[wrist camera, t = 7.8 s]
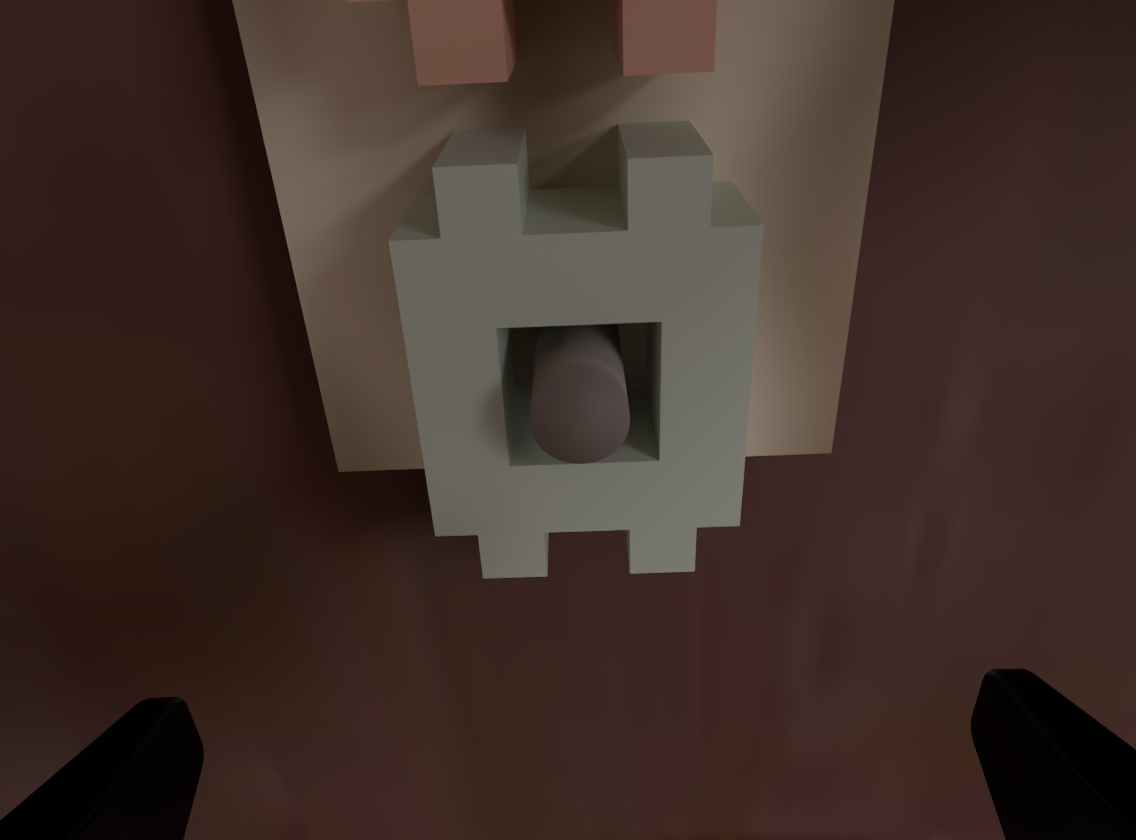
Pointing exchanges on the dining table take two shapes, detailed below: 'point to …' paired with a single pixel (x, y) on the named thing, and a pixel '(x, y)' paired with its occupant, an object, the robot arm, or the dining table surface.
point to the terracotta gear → (489, 46)
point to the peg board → (568, 160)
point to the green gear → (580, 297)
